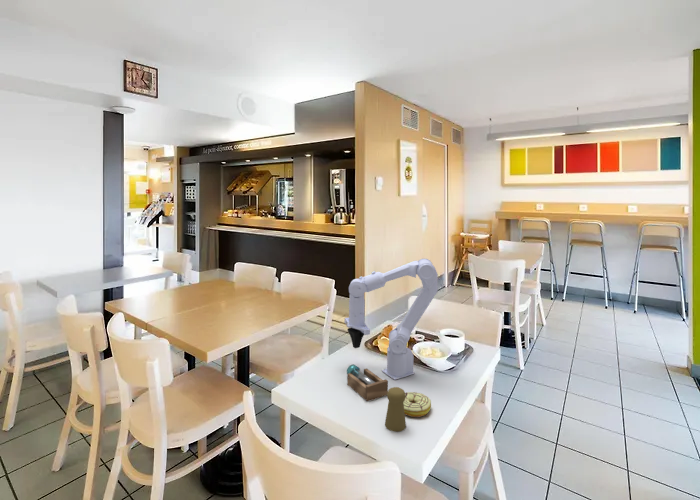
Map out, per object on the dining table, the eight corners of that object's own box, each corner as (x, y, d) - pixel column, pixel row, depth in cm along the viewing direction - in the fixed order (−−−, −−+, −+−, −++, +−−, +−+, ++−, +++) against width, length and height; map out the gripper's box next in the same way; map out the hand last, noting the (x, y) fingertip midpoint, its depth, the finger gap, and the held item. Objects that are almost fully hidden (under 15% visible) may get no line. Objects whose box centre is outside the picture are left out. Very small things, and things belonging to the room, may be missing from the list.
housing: (347, 384, 131) (347, 371, 131) (366, 378, 136) (366, 365, 135) (367, 401, 121) (367, 387, 120) (387, 395, 125) (388, 380, 124)
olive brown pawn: (405, 433, 105) (406, 396, 103) (383, 430, 106) (384, 393, 105) (406, 420, 111) (407, 385, 109) (386, 417, 112) (386, 383, 110)
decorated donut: (401, 397, 124) (401, 386, 124) (434, 405, 120) (434, 394, 119) (391, 413, 115) (391, 402, 114) (425, 422, 110) (426, 410, 110)
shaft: (346, 377, 135) (346, 365, 135) (357, 374, 138) (357, 363, 137) (369, 396, 123) (369, 383, 122) (380, 392, 125) (380, 380, 125)
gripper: (337, 308, 142) (337, 342, 144) (358, 319, 130) (357, 356, 132) (353, 305, 146) (353, 339, 148) (375, 316, 133) (374, 352, 135)
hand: (356, 347), depth 140 cm, fingers closed
